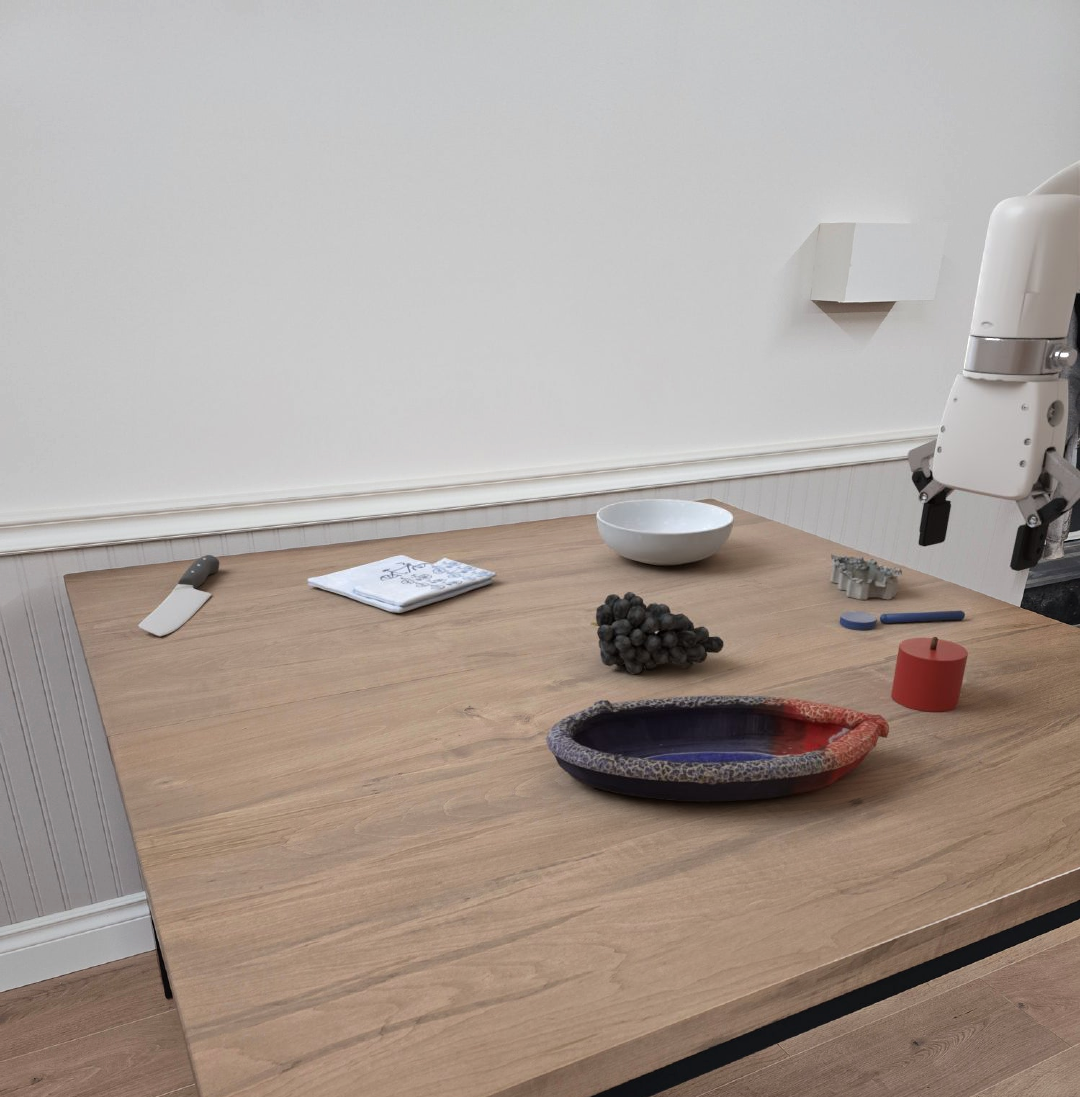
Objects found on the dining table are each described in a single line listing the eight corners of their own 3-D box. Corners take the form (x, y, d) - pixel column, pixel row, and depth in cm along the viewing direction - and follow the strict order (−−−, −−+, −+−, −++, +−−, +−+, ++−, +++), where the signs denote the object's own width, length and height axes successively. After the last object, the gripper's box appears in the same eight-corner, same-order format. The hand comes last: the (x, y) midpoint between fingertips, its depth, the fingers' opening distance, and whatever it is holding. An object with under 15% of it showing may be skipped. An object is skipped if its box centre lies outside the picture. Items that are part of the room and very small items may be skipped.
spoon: (954, 613, 125) (956, 605, 125) (972, 625, 122) (974, 616, 121) (834, 619, 124) (835, 610, 123) (847, 630, 120) (849, 621, 119)
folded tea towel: (400, 617, 125) (398, 601, 125) (304, 587, 137) (303, 572, 137) (499, 583, 139) (499, 569, 138) (404, 558, 150) (403, 545, 150)
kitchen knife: (175, 630, 119) (133, 620, 118) (173, 649, 120) (131, 639, 119) (235, 559, 145) (201, 550, 144) (233, 575, 146) (199, 566, 145)
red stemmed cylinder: (939, 684, 105) (950, 624, 102) (970, 710, 99) (983, 646, 96) (880, 687, 104) (890, 627, 101) (908, 713, 98) (919, 649, 95)
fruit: (727, 583, 108) (592, 579, 108) (734, 630, 102) (591, 625, 102) (717, 643, 114) (589, 639, 114) (723, 691, 108) (588, 686, 108)
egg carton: (901, 601, 131) (906, 571, 129) (845, 601, 131) (849, 571, 129) (877, 577, 140) (881, 549, 138) (825, 577, 140) (828, 549, 138)
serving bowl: (576, 569, 145) (576, 523, 142) (619, 535, 162) (621, 494, 159) (713, 584, 138) (716, 536, 135) (743, 547, 155) (746, 504, 152)
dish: (542, 737, 93) (542, 689, 91) (856, 730, 94) (863, 683, 92) (550, 820, 79) (550, 767, 77) (918, 811, 80) (929, 758, 78)
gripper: (1139, 364, 77) (1088, 571, 85) (953, 350, 91) (923, 530, 98) (1086, 370, 74) (1038, 585, 81) (900, 354, 87) (873, 541, 94)
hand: (975, 555), depth 90 cm, fingers open, 9 cm apart
